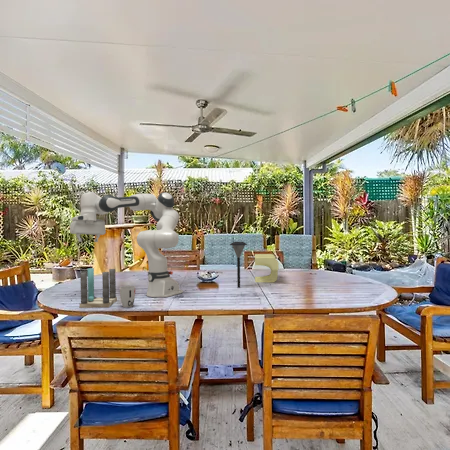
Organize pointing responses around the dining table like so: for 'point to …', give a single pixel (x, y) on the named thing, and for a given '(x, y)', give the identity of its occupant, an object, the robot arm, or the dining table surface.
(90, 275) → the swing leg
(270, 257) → the yellow curved hook shape
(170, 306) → the dining table surface
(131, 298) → the cup
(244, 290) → the dining table surface
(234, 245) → the solar garden light
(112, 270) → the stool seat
